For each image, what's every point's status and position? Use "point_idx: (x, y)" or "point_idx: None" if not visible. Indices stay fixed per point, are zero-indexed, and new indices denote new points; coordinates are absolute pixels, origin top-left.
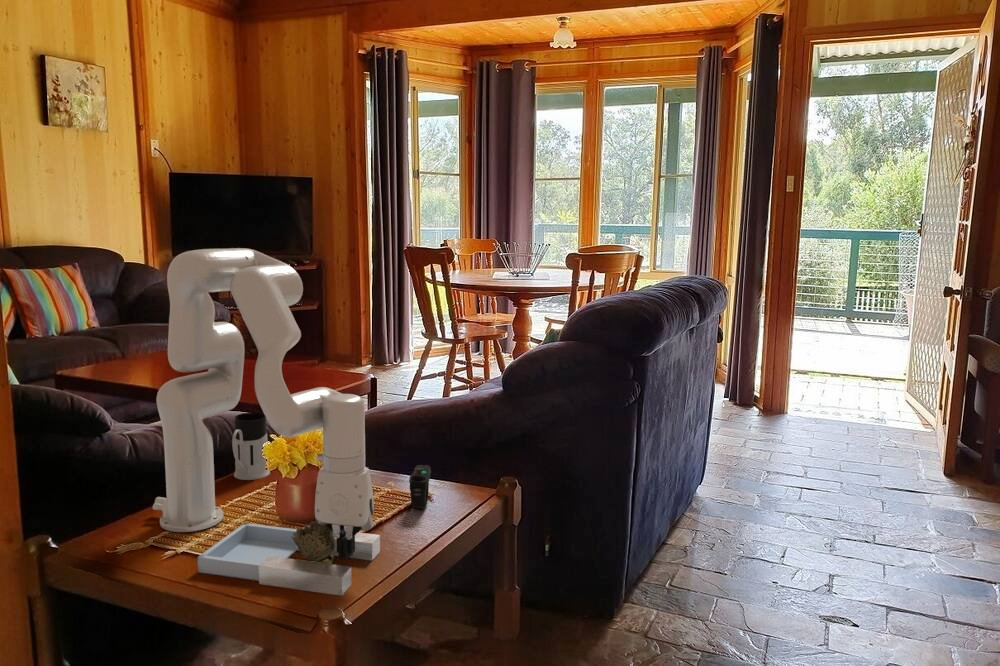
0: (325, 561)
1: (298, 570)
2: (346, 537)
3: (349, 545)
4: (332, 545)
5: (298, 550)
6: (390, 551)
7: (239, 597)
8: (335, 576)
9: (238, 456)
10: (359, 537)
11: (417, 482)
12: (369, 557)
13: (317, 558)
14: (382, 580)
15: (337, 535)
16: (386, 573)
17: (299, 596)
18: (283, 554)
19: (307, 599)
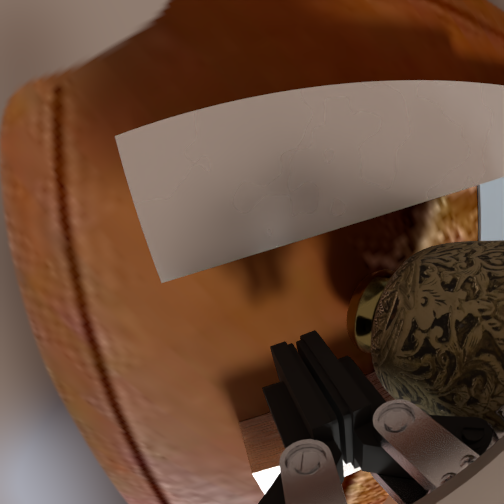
0: (368, 293)
1: (403, 87)
2: (319, 445)
3: (288, 414)
4: (387, 363)
5: None
6: (229, 470)
7: (446, 8)
8: (161, 121)
9: None
10: None
11: None
12: (251, 426)
13: (403, 264)
14: (94, 345)
15: (390, 419)
16: (125, 389)
17: (307, 50)
18: None
19: (259, 43)
